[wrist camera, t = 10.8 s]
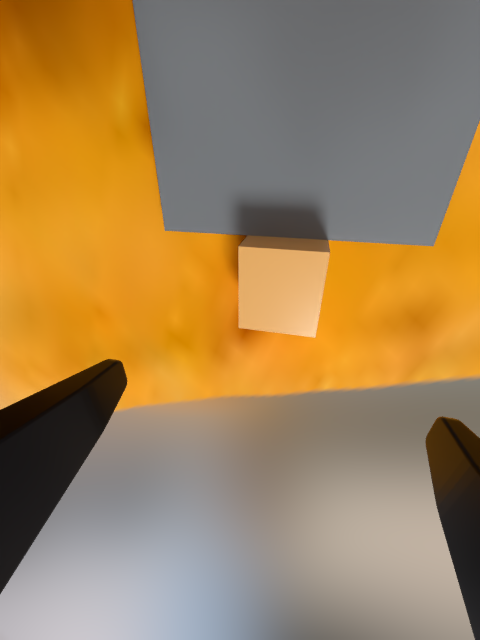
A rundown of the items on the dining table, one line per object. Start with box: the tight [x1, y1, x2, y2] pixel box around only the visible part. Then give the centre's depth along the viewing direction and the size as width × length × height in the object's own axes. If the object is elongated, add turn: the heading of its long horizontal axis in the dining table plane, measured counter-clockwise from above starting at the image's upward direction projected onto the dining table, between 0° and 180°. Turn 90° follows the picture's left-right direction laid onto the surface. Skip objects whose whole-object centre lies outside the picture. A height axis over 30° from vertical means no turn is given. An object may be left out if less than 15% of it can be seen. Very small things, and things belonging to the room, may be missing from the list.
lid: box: [133, 0, 480, 337], centre depth 11 cm, size 13×17×3 cm
